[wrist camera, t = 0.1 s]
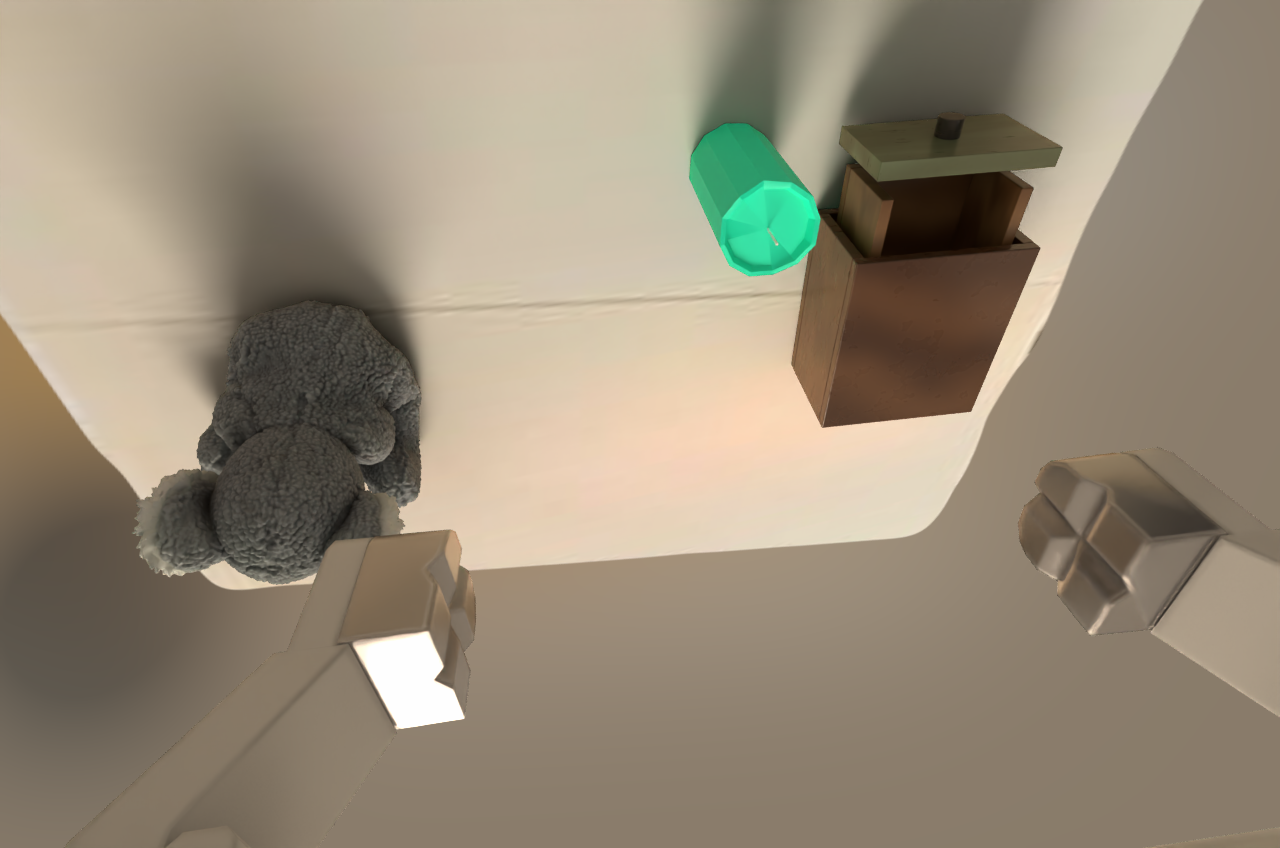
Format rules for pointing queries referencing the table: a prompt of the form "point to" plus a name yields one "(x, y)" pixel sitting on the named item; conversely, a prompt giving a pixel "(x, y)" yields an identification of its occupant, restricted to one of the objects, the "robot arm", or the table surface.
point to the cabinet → (902, 326)
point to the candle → (753, 200)
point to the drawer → (938, 183)
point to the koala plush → (293, 450)
